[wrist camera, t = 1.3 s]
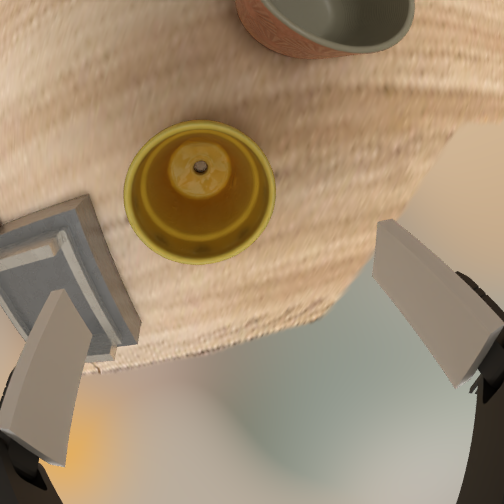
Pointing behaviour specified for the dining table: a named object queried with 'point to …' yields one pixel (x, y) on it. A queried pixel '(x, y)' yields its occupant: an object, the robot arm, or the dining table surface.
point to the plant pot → (199, 192)
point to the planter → (326, 25)
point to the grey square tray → (66, 275)
